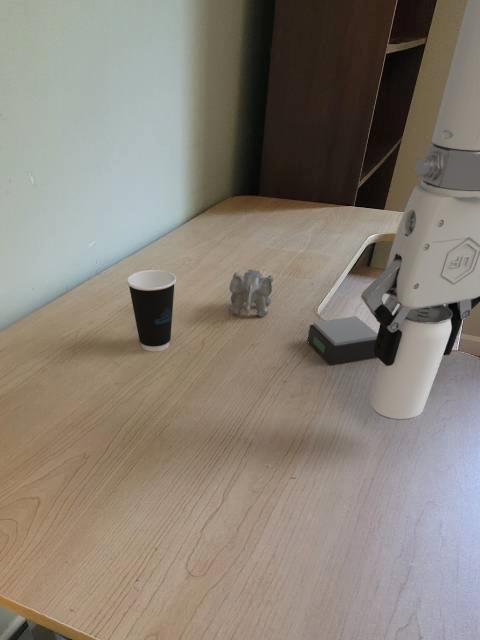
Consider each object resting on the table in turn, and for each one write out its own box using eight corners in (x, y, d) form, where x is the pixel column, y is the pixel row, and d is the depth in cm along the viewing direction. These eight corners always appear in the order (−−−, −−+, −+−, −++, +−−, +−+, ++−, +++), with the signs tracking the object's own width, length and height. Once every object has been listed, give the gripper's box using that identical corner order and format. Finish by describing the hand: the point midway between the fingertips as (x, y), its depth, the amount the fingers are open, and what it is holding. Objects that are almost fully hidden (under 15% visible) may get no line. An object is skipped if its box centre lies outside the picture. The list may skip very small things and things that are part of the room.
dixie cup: (138, 333, 93) (133, 268, 85) (181, 336, 92) (180, 270, 84) (127, 354, 88) (120, 286, 80) (172, 357, 86) (170, 289, 78)
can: (365, 417, 63) (391, 320, 55) (371, 390, 67) (395, 296, 59) (421, 425, 62) (457, 327, 53) (423, 397, 66) (457, 301, 57)
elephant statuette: (266, 301, 101) (270, 259, 96) (284, 327, 93) (290, 283, 88) (220, 305, 101) (221, 263, 95) (234, 332, 92) (236, 287, 87)
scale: (352, 335, 90) (357, 314, 88) (377, 357, 85) (383, 336, 82) (306, 342, 89) (309, 321, 86) (329, 365, 83) (333, 344, 81)
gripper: (405, 189, 43) (358, 384, 56) (583, 166, 45) (498, 357, 58) (360, 169, 48) (327, 352, 61) (522, 149, 50) (457, 329, 63)
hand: (411, 353), depth 59 cm, fingers closed on can, 6 cm apart
